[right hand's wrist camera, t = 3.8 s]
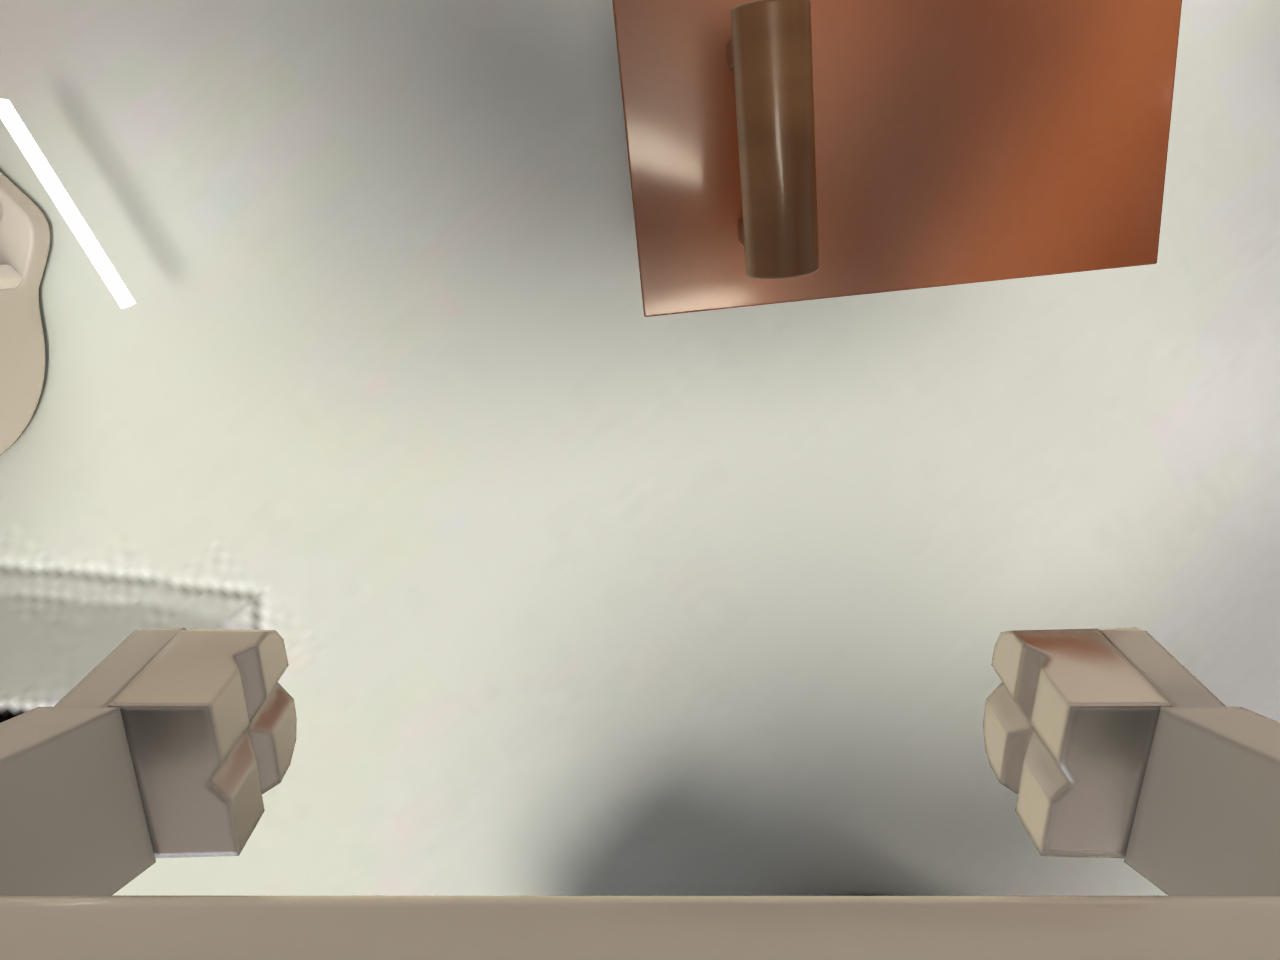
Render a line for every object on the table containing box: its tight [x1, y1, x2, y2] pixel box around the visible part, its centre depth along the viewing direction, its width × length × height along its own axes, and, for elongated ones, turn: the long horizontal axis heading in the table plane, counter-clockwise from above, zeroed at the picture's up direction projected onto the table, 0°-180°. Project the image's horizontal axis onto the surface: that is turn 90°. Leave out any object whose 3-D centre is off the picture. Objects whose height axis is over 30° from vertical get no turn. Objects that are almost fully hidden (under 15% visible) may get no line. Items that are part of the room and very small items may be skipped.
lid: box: [612, 0, 1182, 317], centre depth 24 cm, size 16×10×8 cm, turn 96°
